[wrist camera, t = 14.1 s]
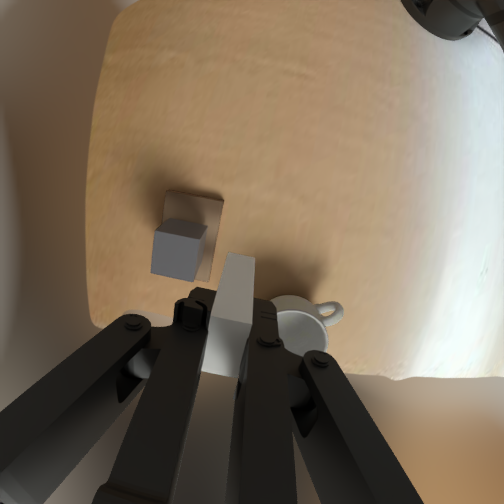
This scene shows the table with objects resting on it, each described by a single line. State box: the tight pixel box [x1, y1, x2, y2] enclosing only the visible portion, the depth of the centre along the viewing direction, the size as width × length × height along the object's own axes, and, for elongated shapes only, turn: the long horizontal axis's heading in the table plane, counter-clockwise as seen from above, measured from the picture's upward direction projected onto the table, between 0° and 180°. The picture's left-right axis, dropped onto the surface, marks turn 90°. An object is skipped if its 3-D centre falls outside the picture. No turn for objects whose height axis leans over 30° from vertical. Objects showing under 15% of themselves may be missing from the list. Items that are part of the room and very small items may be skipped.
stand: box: [161, 190, 224, 282], centre depth 40 cm, size 12×8×8 cm, turn 168°
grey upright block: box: [151, 218, 208, 282], centre depth 38 cm, size 5×5×7 cm
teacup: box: [270, 295, 344, 356], centre depth 44 cm, size 14×11×8 cm
